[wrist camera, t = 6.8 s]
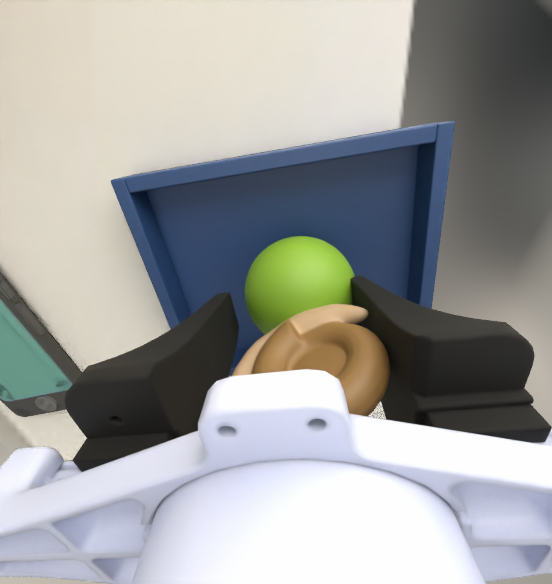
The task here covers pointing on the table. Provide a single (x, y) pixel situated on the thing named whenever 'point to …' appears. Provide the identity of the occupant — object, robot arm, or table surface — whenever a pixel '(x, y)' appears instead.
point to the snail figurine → (313, 320)
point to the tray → (293, 216)
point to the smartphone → (30, 360)
